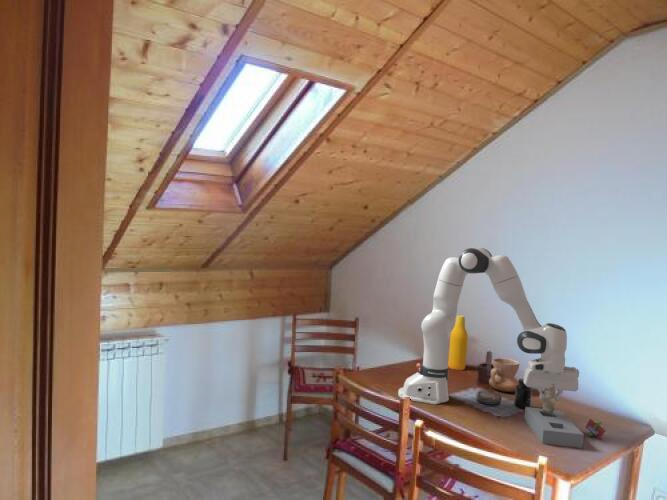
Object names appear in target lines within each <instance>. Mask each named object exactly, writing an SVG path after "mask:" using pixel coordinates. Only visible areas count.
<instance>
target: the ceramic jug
mask: <svg viewBox="0 0 667 500" xmlns="http://www.w3.org/2000/svg"><path fill="white" fill-rule="evenodd" d="M520 363H521V362H520V361H517V360H515V359H511V358H507V357H505V358H504V357H498V358H493V359H492V365H493V368H491V371H490V378H489V380H488V384H489V386H491V388H493V389H494V390H497V391H500V392H503V393H515V389H516V386H517V385H519V383H518V382H519V379H517V378H516V377H515V376H516V374H517V373H518V370H519V369H520Z"/></svg>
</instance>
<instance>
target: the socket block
mask: <svg viewBox="0 0 667 500" xmlns="http://www.w3.org/2000/svg"><path fill="white" fill-rule="evenodd" d="M524 420H525V422H526V423H527V424H528V426H529V428H530V429H531V430H532V432H533V433H534V434H535V436H536V437H537V438H538V439H539V441H540V442H541V444H544V445H550V446H551V445H553V446H554V445H555V446H562V447H569V448H570V447H571V448H579V449H583V445H584V444H583V443H584V435H585V434H584V433H583V432H582V431H581V430H580V429H579V427H578V426H576V425H575V424H574V423H573V422H572V420H570V418H569V417H568V416H566V414H565V413H564V412H562V410H559V409H558V410H557V409H554V413H553V414H547V413H544V412H543V408H538V407H531V406H530V407H525V409H524Z"/></svg>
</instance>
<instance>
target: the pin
mask: <svg viewBox="0 0 667 500" xmlns="http://www.w3.org/2000/svg"><path fill="white" fill-rule="evenodd" d="M554 387H555V384H550V386H549V389H545V388H544V393H543V394H544V395H545V399H543V401H542V402H543V403H542V409H543V412H544V413H547V414H553V413H554V410H555V403H556V401H555V395H556V390H555V388H554Z"/></svg>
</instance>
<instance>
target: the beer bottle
mask: <svg viewBox="0 0 667 500" xmlns="http://www.w3.org/2000/svg"><path fill="white" fill-rule="evenodd" d="M465 318H466V317H465V315H460V314H459V315H457V314H456V319H455V325H454V327H453V329H452V330H451V331H450V337H449V338H450V339H449V359H448V368H449V369H451V370H454V369H455V370H456V371H463V370H465V369H466V361H467V360H466V359H467V348H468V332H467V330H466V329H467V328H466V319H465ZM455 370H454V371H455Z"/></svg>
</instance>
